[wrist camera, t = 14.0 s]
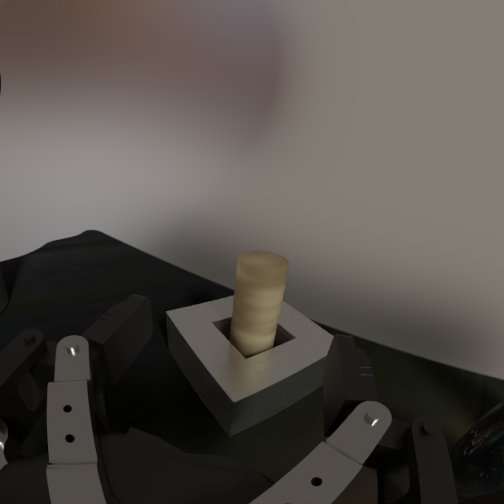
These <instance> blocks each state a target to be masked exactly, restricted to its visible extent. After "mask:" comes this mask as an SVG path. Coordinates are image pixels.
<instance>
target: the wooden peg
mask: <svg viewBox="0 0 504 504" xmlns="http://www.w3.org/2000/svg"><path fill="white" fill-rule="evenodd" d="M288 266H289V262H288V260H287V259H286V258H284V257H283V256H281V255H278V254H276V253H272V252H267V251H261V250H260V251H259V250H252V251H246V252H243V253H241V254H239V256H238V260H237V270H236V280H235V290H234V301H233V312H232V322H231V333H230V343H231V344H232V345H233V346H234V347H235V348H236V349H237V350H238V351H239V352H240V353H241V354H242V355H243V357H244V358H245V359H248V358H250V357H253V356H255V355H258V354H260V353H262V352H265V351H267V350H270V349H272V348H273V344H274V339H275V334H276V329H277V324H278V319H279V314H280V309H281V304H282V299H283V293H284V288H285V282H286V277H287V272H288Z"/></svg>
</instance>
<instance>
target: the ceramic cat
mask: <svg viewBox="0 0 504 504" xmlns="http://www.w3.org/2000/svg"><path fill="white" fill-rule="evenodd" d="M449 456H450V461H451V465H452V470H453V476H454V481H455V488H456V494H457V501H458V503H460V502H462V501H464V500H467V499H469V498H472V497H475V496H481V495H486V494H492V493H499V492H504V400H503V401H501V402H499V403H498V404H497V405H496V406H495V407H493V408H492V409H491V410H490V411H489V412H487V413H486V414H485V415H483V416H482V417H481V418H480V419H479V420H478V421H477V422H476V423H475V424H474V425H473V426H472V428H471V429H470V430H469V431H468V432H467V433H466V434H465V435H464V436H463V437H462V438H461V439H460V440H459V441H458V442H457V444H456V445H455V446H454V447H453V449H452V450H451V452H450V453H449Z"/></svg>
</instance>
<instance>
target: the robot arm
mask: <svg viewBox="0 0 504 504" xmlns="http://www.w3.org/2000/svg"><path fill="white" fill-rule="evenodd" d="M0 92H1V76H0ZM8 301H9V297H8V293H7V290H6V286H5V283H4V279H3V275H2V270H1V266H0V313H1V312H2V311H3V310H4V309H5V307H6V306H7V304H8ZM152 330H153V323H152V313H151V302H150V299H149V298H146V297H142V296H139V295H135V294H133V295H131V296H130V297H129V298H128V299H127V300H126V301H125V302H124V303H123V302H121V303H118V304H116V305H114V306H112V307H111V308H110V309H109V310H108V311H107V312H106V313H105V314H103V315H102V316H101V317H100V319H98V320H97V321H96V322H95V323H94V324H93V325H92V326H91V327H90V328H89V329H88V330H87V331H86V332H85V333H84V334H83V335H82V336H76V335H73V336H68V337H65V338H63V339H62V340H61V341H60V342H59V343H56V342H50V341H45V338H44V335H43V333H42V332H41V331H40V330H38V329H27V330H25V331H23V332H21V333H20V334H19V335H18V336H17V337H16V338H15V339H14V340H13V341H12V342H11V343H10V344H9V345H7V346H6V347H5V348H4V349H3V350H2V351H1V352H0V504H331V503H332V502H333V501H334V500H335V499H336V498H337V497H338V495H339V494H340V493H341V492H342V491H343V490H344V489H345V488H346V486H347V485H348V484H349V483H350V482H351V480H352V479H353V478H354V477H355V476H356V474H357V473H358V472H359V470H360V469H361V468H362V466H365V467H369V468H373V469H377V478H378V504H458V501H457V494H456V488H455V481H454V476H453V470H452V465H451V461H450V456H449V451H448V447H447V443H446V439H445V435H444V431H443V428H442V425H441V424H440V422H439V421H438V420H436V419H435V418H433V417H431V416H426V415H423V416H419V417H417V418H416V419H415V420H414V421H413V422H412V423H410V422H406V421H402V420H398V419H395V418H393V417H391V413H390V411H389V410H388V409H387V408H386V407H385V406H384V405H382V404H381V403H380V402H379V397H378V393H377V389H376V384H375V380H374V376H373V372H372V369H371V364H370V360H369V357H368V356H367V355H366V353H365V352H364V351H363V349H356V347H355V343H354V339H353V337H352V336H346V335H338V334H335V335H334V337H333V340H332V342H331V345H330V348H329V351H328V354H327V356H326V359H325V362H324V366H323V399H324V436H330V437H329V438H328V439H327V440H326V441H325V440H324V441H323V442H321V443H320V444H319V445H318V446H317V447H316V448H315V449H314V450H313V451H312V452H311V453H310V454H309V455H308V456H307V457H306V458H305V459H303V460H302V461H301V462H300V463H299V464H298V465H297V466H296V467H295V468H293V469H292V470H291V471H290V472H289V473H288V474H286V475H285V476H284V477H283V478H282V479H280V480H279V481H278V482H277V483H275V482H274V481H273V480H271V479H270V478H269V477H267V476H266V475H264V474H262V473H260V472H258V471H256V470H254V469H251V466H252V461H248V460H242V459H237V458H232V457H227V456H223V455H205V454H189V453H185V452H183V451H181V450H179V449H177V448H176V447H174V446H172V445H170V444H169V443H167V442H165V441H164V440H162V439H160V438H159V437H157V436H154V435H151V434H148V433H146V432H143V431H141V430H138V429H136V428H133V427H130V429H129V431H128V432H127V433H118V432H116V433H112V430H111V427H110V424H109V419H108V414H107V408H106V402H105V396H104V390H103V385H104V384H105V383H108V384H111V385H113V386H116V384H117V383H118V381H119V380H120V379H121V377H122V376H123V375H124V373H125V372H126V370H127V369H128V368H129V366H130V365H131V363H132V362H133V361H134V359H135V358H136V357H137V355H138V354H139V353H140V351H141V350H142V348H143V347H144V346H145V344H146V343H147V342H148V340H149V339H150V337H151V334H152ZM28 371H30V373H31V375H32V377H31V378H30V380H29V381H28V382H27V383H26V384H25V386H24V387H23V388H22V389H21V390H20V392H19V393H18V392H17V385H18V382H19V381H20V380H21V379H22V377H23V376H24V375H25V374H26V373H27V372H28ZM46 408H47V434H48V450H49V451H48V452H45V453H41V454H37V455H34V456H30V457H26V458H23V456H22V454H21V445H22V443H23V442H24V440H25V439H26V437H27V436H28V434H29V433H30V431H31V430H32V428H33V427H34V425H35V424H36V422H37V421H38V420H39V418H40V417H41V415H42V414H43V413H44V411H45V410H46Z"/></svg>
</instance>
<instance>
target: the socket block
mask: <svg viewBox="0 0 504 504" xmlns="http://www.w3.org/2000/svg"><path fill="white" fill-rule="evenodd" d="M233 301H234V296H230V297H226V298H222V299H218V300H214V301H210V302H206V303H201V304H197V305H193V306H189V307H184V308H180V309H176V310H171V311H167V312H166V321H167V336H168V348H169V351H170V353H171V355H172V356H173V358H174V359H175V361H176V363H177V364H178V366H179V367H180V369H181V370H182V372H183V373H184V375H185V376H186V378H187V379H188V381H189V382H190V384H191V385H192V387H193V388H194V390H195V391H196V393H197V394H198V395H199V397H200V398H201V400H202V401H203V402H204V404H205V405H206V407H207V408H208V409H209V411H210V412H211V413H212V415H213V416H214V417H215V419H216V420H217V421H218V423H219V424H220V425H221V426H222V428H223V429H224V430H225V432H226V433H227V434H228V435H229V437H230V436H233V435H235V434H237V433H239V432H241V431H243V430H245V429H247V428H249V427H251V426H253V425H255V424H257V423H259V422H261V421H263V420H265V419H267V418H269V417H271V416H272V415H274V414H276V413H278V412H280V411H281V410H283V409H285V408H287V407H289V406H290V405H292V404H294V403H295V402H297V401H299V400H300V399H302V398H304V397H305V396H307V395H309V394H310V393H312V392H313V391H315V390H317V389H318V388H320V387H321V386H323V366H324V362H325V359H326V356H327V354H328V351H329V348H330V345H331V342H332V340H333V337H334V336H332V335H331V334H329V333H328V332H326V331H325V330H324V329H322V328H321V327H319V326H318V325H316V324H315V323H314V322H312V321H311V320H309V319H308V318H306V317H305V316H304V315H302V314H301V313H299V312H298V311H297V310H295V309H294V308H292V307H291V306H290V305H288V304H287V303H285V302H284V301H283V300H282V304H281V309H280V314H279V319H278V324H277V329H276V334H275V339H274V344H273V348H272V349H270V350H267V351H265V352H262V353H260V354H258V355H255V356H253V357H250V358H248V359H245V358H244V357H243V355H242V354H241V353H240V352H239V351H238V350H237V349H236V348H235V347H234V346H233V345H232V344H231V343H230V333H231V322H232V312H233Z"/></svg>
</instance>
